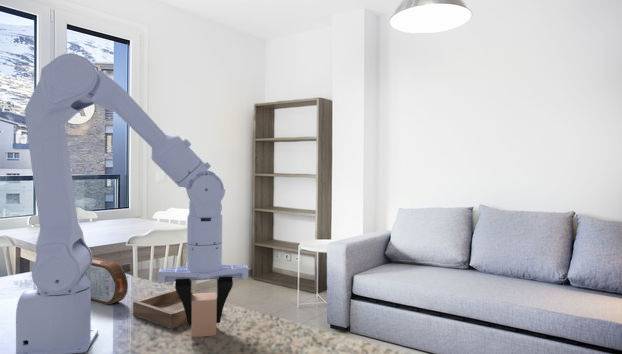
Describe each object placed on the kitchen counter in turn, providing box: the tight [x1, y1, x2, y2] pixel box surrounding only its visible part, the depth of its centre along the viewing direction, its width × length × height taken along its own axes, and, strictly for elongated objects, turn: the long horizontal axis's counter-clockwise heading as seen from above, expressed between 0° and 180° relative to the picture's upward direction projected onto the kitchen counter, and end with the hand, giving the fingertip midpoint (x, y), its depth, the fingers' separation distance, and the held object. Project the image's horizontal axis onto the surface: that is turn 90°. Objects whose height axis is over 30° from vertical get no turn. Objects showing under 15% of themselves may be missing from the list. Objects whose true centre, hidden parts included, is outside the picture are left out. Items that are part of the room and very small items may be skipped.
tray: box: [132, 289, 217, 330], centre depth 80 cm, size 11×11×2 cm
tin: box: [85, 256, 129, 305], centre depth 87 cm, size 15×3×8 cm, turn 61°
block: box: [190, 291, 217, 338], centre depth 72 cm, size 4×4×6 cm
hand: (204, 321), depth 72 cm, fingers closed on block, 4 cm apart
